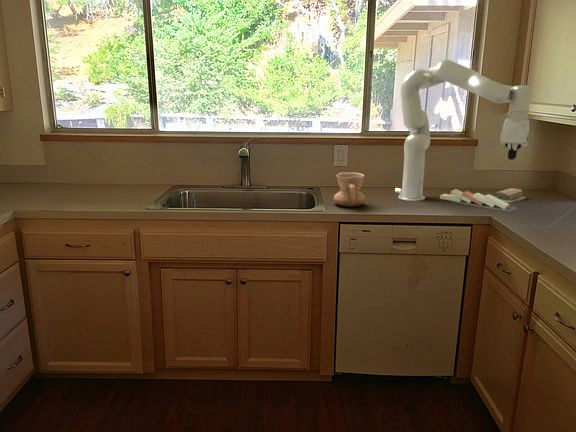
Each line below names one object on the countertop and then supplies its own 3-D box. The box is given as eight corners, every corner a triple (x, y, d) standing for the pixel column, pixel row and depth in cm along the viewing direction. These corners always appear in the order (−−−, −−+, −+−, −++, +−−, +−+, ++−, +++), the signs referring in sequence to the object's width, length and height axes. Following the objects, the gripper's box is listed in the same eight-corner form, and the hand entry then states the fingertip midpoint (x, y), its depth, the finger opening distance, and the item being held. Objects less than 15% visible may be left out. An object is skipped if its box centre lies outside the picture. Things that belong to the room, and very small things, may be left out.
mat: (451, 203, 216) (451, 201, 216) (460, 199, 223) (460, 198, 223) (509, 213, 199) (510, 211, 199) (517, 208, 206) (517, 207, 206)
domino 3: (481, 205, 210) (461, 195, 215) (485, 203, 213) (465, 193, 218) (482, 202, 209) (462, 192, 214) (486, 200, 212) (467, 190, 218)
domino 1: (460, 202, 216) (439, 198, 223) (464, 200, 220) (444, 196, 226) (460, 198, 216) (440, 195, 222) (464, 196, 219) (444, 193, 226)
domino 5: (504, 209, 203) (483, 198, 208) (508, 207, 207) (487, 197, 212) (505, 206, 202) (484, 195, 208) (509, 204, 206) (488, 194, 211)
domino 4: (492, 207, 206) (472, 197, 212) (496, 205, 210) (476, 195, 215) (494, 204, 206) (473, 194, 211) (498, 202, 209) (478, 192, 214)
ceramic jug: (332, 200, 220) (333, 170, 216) (363, 200, 219) (364, 171, 215) (334, 210, 203) (335, 178, 199) (367, 210, 202) (368, 179, 198)
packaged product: (507, 186, 234) (527, 189, 226) (506, 195, 235) (526, 199, 228) (490, 191, 222) (511, 194, 215) (489, 200, 224) (509, 204, 216)
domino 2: (469, 203, 213) (450, 193, 218) (473, 201, 217) (454, 191, 222) (470, 200, 212) (451, 190, 218) (475, 198, 216) (456, 189, 221)
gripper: (496, 115, 197) (490, 158, 202) (534, 117, 187) (527, 162, 192) (502, 114, 202) (496, 156, 207) (539, 116, 192) (532, 160, 197)
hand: (511, 159), depth 199 cm, fingers closed
